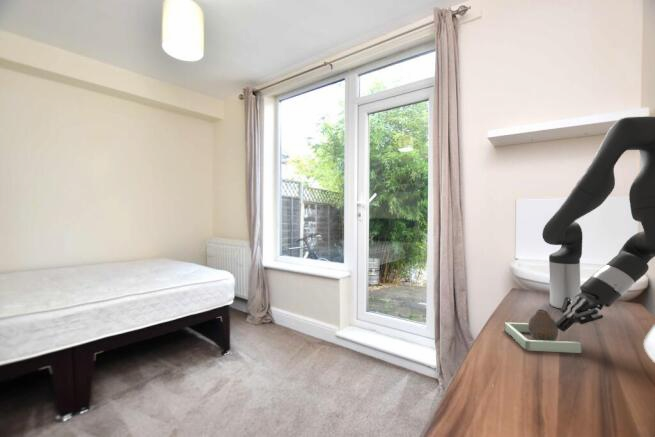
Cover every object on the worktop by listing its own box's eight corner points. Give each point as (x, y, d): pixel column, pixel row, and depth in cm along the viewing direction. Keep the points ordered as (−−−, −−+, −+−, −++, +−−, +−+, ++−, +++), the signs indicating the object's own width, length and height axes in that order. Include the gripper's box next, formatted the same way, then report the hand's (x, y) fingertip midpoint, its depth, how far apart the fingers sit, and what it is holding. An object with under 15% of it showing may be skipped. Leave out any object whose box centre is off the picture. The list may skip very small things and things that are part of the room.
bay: (504, 330, 92) (504, 322, 92) (550, 331, 89) (550, 323, 89) (526, 350, 78) (525, 341, 78) (581, 353, 76) (580, 343, 76)
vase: (553, 337, 85) (552, 308, 85) (562, 347, 79) (561, 315, 79) (526, 334, 88) (525, 306, 88) (532, 344, 81) (531, 313, 81)
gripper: (578, 271, 87) (535, 311, 89) (614, 281, 74) (562, 327, 76) (599, 289, 86) (555, 329, 89) (639, 302, 73) (585, 348, 76)
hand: (558, 328), depth 82 cm, fingers closed
